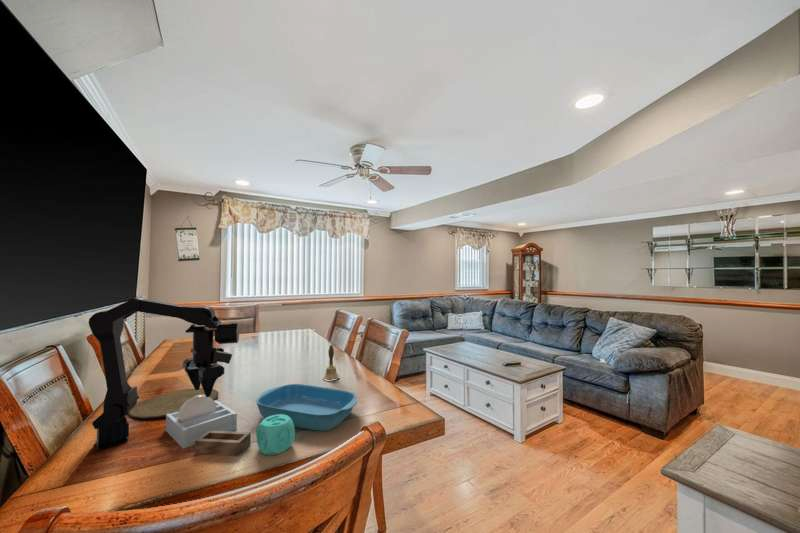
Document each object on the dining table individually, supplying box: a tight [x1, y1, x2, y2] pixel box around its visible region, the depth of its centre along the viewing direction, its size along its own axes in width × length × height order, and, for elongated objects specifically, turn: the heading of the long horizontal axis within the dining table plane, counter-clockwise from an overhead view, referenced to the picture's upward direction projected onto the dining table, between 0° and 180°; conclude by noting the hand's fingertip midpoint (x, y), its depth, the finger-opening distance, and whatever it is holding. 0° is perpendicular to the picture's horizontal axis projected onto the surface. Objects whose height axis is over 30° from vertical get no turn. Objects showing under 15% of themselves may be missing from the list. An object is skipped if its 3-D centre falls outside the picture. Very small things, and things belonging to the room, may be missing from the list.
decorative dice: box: [255, 414, 296, 456], centre depth 93 cm, size 8×8×8 cm
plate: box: [178, 395, 216, 423], centre depth 102 cm, size 2×10×10 cm, turn 142°
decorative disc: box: [128, 387, 220, 420], centre depth 123 cm, size 29×3×30 cm
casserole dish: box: [256, 383, 358, 432], centre depth 113 cm, size 37×22×7 cm, turn 72°
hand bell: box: [322, 344, 340, 380], centre depth 154 cm, size 8×8×16 cm
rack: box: [165, 399, 238, 450], centre depth 103 cm, size 15×17×5 cm
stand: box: [194, 430, 252, 456], centre depth 92 cm, size 13×6×4 cm, turn 86°
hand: (202, 393), depth 103 cm, fingers open, 9 cm apart
